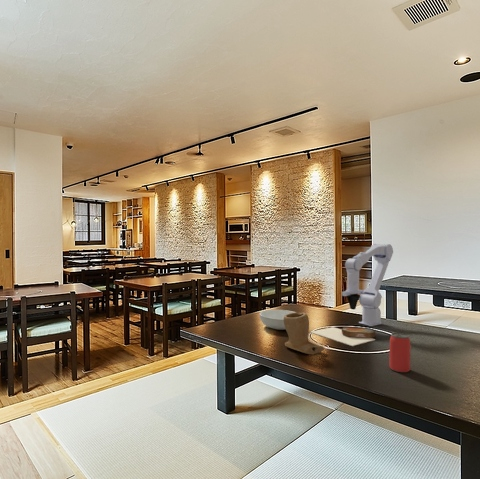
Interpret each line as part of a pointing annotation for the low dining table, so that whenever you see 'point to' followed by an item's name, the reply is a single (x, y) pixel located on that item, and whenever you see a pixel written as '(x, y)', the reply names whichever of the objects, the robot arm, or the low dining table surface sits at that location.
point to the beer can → (399, 352)
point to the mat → (341, 336)
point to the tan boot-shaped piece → (299, 333)
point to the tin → (358, 332)
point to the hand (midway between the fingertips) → (352, 309)
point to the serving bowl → (274, 318)
